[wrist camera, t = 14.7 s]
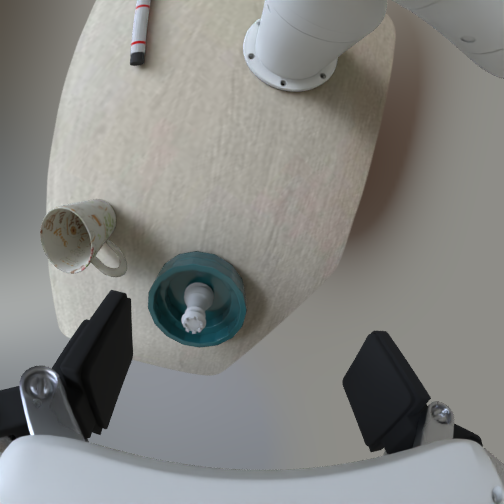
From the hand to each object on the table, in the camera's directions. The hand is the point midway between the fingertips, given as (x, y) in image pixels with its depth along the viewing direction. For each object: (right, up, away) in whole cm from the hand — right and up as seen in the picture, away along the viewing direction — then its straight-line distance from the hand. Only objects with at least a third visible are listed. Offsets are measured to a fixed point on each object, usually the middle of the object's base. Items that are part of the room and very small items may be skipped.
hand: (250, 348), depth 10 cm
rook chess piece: (-8, -3, +31) cm, 32 cm away
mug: (-21, +7, +27) cm, 35 cm away
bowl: (-8, -3, +31) cm, 32 cm away
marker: (-15, +36, +15) cm, 42 cm away
